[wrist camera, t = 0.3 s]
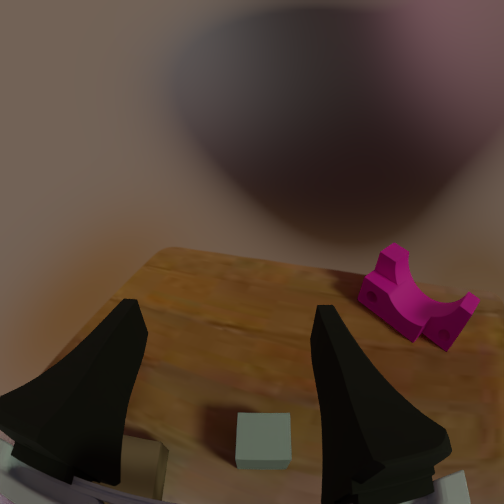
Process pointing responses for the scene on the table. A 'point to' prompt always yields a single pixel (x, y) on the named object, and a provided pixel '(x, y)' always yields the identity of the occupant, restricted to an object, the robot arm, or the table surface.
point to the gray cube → (263, 441)
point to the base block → (142, 468)
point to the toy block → (412, 301)
